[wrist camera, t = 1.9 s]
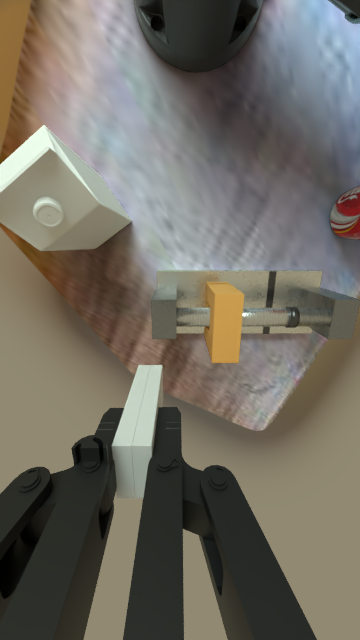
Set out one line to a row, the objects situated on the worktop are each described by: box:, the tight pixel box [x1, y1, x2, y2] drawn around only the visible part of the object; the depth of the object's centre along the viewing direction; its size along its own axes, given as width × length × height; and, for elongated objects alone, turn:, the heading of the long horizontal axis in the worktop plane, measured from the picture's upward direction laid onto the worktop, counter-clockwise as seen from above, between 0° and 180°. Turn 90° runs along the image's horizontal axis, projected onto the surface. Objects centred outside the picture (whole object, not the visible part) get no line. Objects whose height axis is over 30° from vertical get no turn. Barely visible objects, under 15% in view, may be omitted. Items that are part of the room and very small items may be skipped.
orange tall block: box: [204, 282, 244, 363], centre depth 30 cm, size 3×8×9 cm, turn 0°
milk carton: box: [0, 125, 131, 251], centre depth 26 cm, size 7×7×19 cm
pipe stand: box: [151, 270, 360, 339], centre depth 34 cm, size 25×10×10 cm, turn 90°
